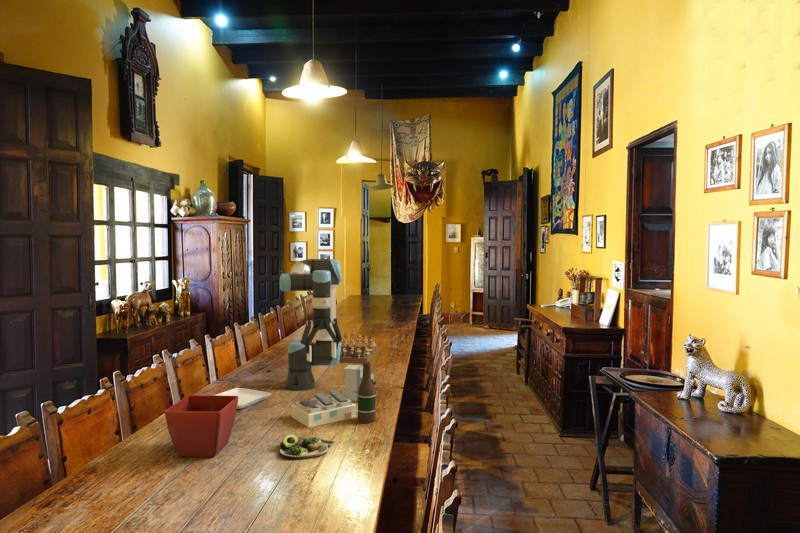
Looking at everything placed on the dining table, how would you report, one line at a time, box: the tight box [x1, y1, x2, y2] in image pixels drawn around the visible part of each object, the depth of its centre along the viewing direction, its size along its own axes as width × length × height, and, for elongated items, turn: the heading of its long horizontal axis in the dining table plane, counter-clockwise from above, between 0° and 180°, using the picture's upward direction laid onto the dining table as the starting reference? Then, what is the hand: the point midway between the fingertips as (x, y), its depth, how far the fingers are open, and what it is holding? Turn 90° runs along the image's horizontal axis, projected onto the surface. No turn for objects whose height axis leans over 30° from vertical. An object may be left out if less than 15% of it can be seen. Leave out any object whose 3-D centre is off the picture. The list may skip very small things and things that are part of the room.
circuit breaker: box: [342, 364, 377, 402], centre depth 244 cm, size 8×14×15 cm, turn 78°
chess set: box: [338, 329, 380, 365], centre depth 338 cm, size 40×40×15 cm
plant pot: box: [164, 394, 238, 458], centre depth 183 cm, size 19×19×17 cm
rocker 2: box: [314, 391, 333, 406], centre depth 219 cm, size 10×3×2 cm, turn 37°
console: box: [290, 394, 357, 428], centre depth 219 cm, size 16×22×6 cm
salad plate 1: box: [215, 387, 272, 410], centre depth 239 cm, size 21×21×3 cm
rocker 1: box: [299, 399, 318, 406], centre depth 215 cm, size 10×3×2 cm, turn 37°
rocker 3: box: [328, 389, 348, 403], centre depth 223 cm, size 10×3×2 cm, turn 37°
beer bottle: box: [357, 361, 377, 424], centre depth 215 cm, size 8×8×24 cm
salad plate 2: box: [279, 433, 336, 460], centre depth 185 cm, size 19×18×5 cm
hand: (321, 359), depth 220 cm, fingers open, 11 cm apart
